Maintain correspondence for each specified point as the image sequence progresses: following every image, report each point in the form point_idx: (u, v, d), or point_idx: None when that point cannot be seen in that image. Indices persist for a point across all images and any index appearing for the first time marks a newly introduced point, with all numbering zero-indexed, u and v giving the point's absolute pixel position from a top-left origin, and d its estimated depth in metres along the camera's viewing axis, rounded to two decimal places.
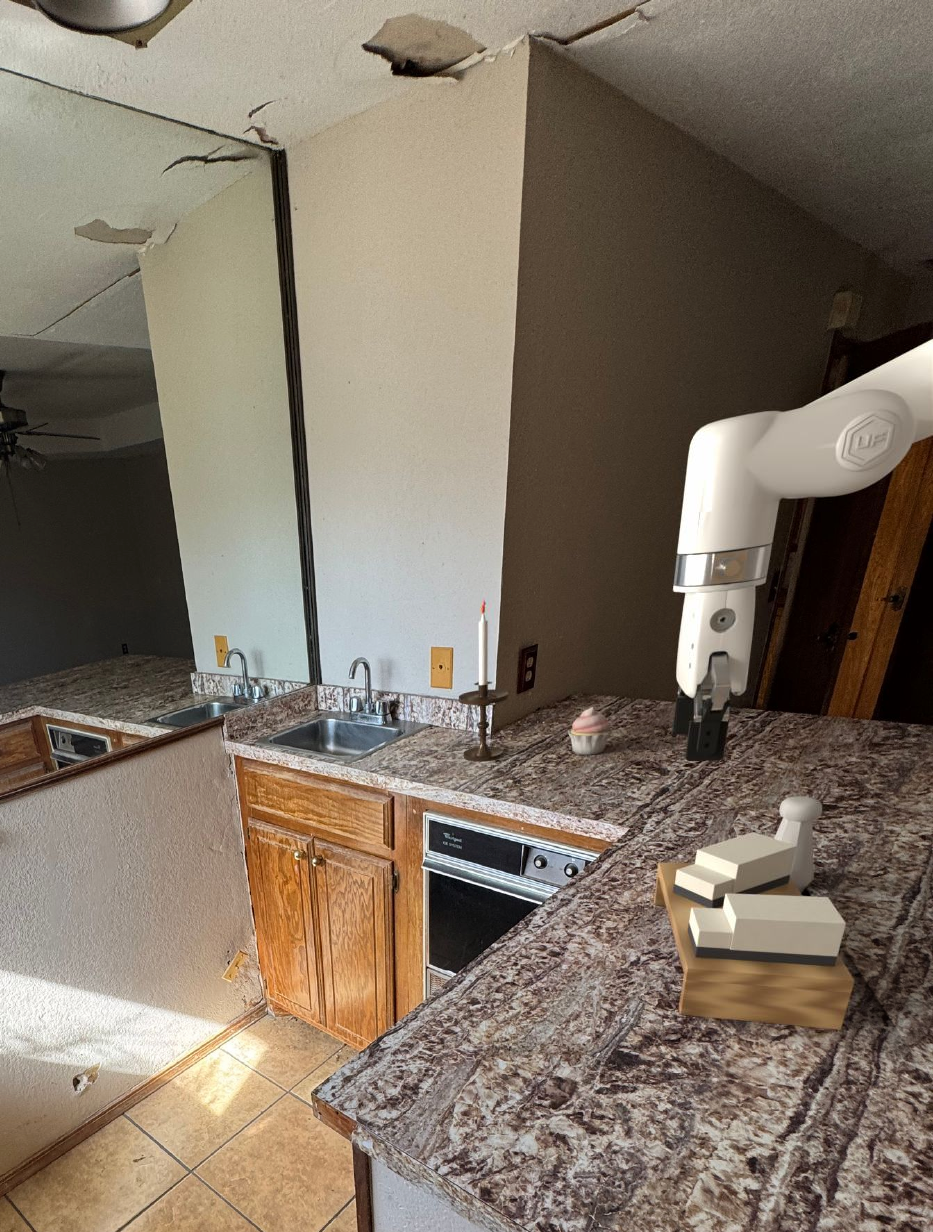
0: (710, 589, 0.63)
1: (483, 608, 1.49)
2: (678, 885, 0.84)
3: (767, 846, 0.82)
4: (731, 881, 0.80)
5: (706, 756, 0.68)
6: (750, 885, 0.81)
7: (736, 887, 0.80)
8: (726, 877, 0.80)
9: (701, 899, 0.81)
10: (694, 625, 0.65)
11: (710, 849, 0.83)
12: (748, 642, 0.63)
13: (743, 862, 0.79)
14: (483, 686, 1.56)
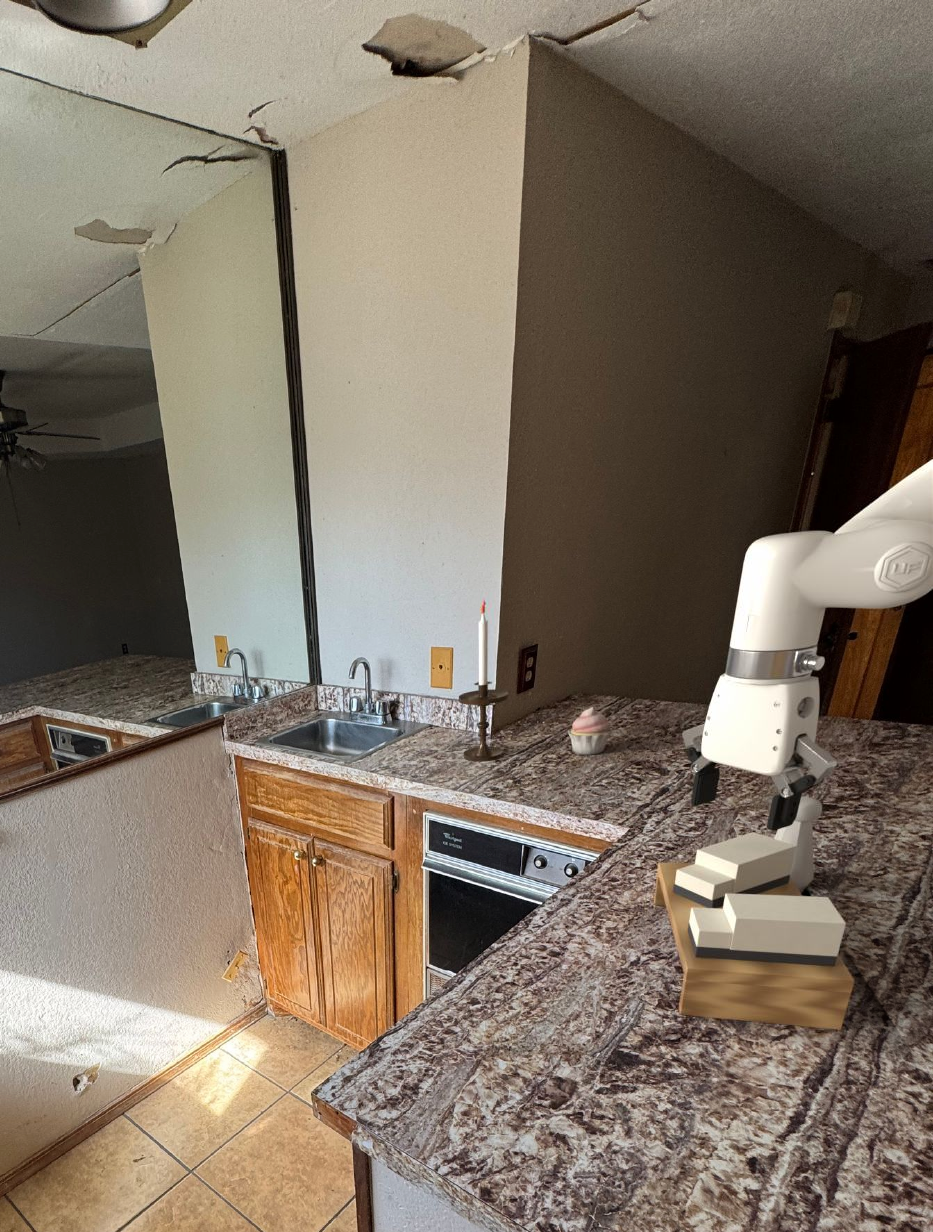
0: (790, 681, 0.70)
1: (483, 608, 1.49)
2: (678, 885, 0.84)
3: (767, 846, 0.82)
4: (731, 881, 0.80)
5: (784, 823, 0.75)
6: (750, 885, 0.81)
7: (736, 887, 0.80)
8: (726, 877, 0.80)
9: (701, 899, 0.81)
10: (779, 712, 0.71)
11: (710, 849, 0.83)
12: (817, 723, 0.72)
13: (743, 862, 0.79)
14: (483, 686, 1.56)
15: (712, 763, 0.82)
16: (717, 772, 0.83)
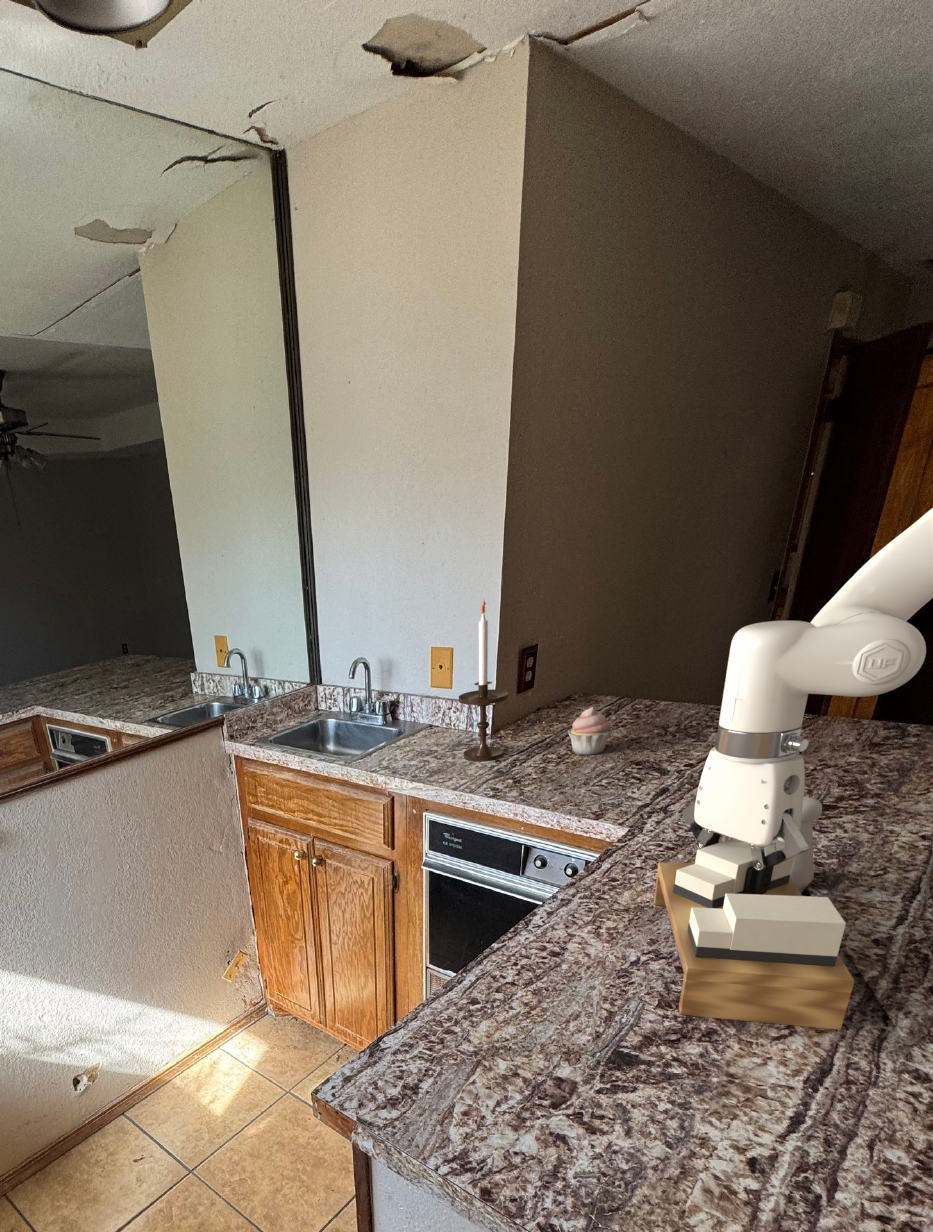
0: (776, 760, 0.73)
1: (483, 608, 1.49)
2: (678, 885, 0.84)
3: None
4: (731, 881, 0.80)
5: (758, 892, 0.81)
6: None
7: (736, 887, 0.80)
8: (726, 877, 0.80)
9: (701, 899, 0.81)
10: (767, 789, 0.74)
11: (710, 849, 0.83)
12: (803, 798, 0.75)
13: (743, 862, 0.79)
14: (483, 686, 1.56)
15: (715, 837, 0.85)
16: None
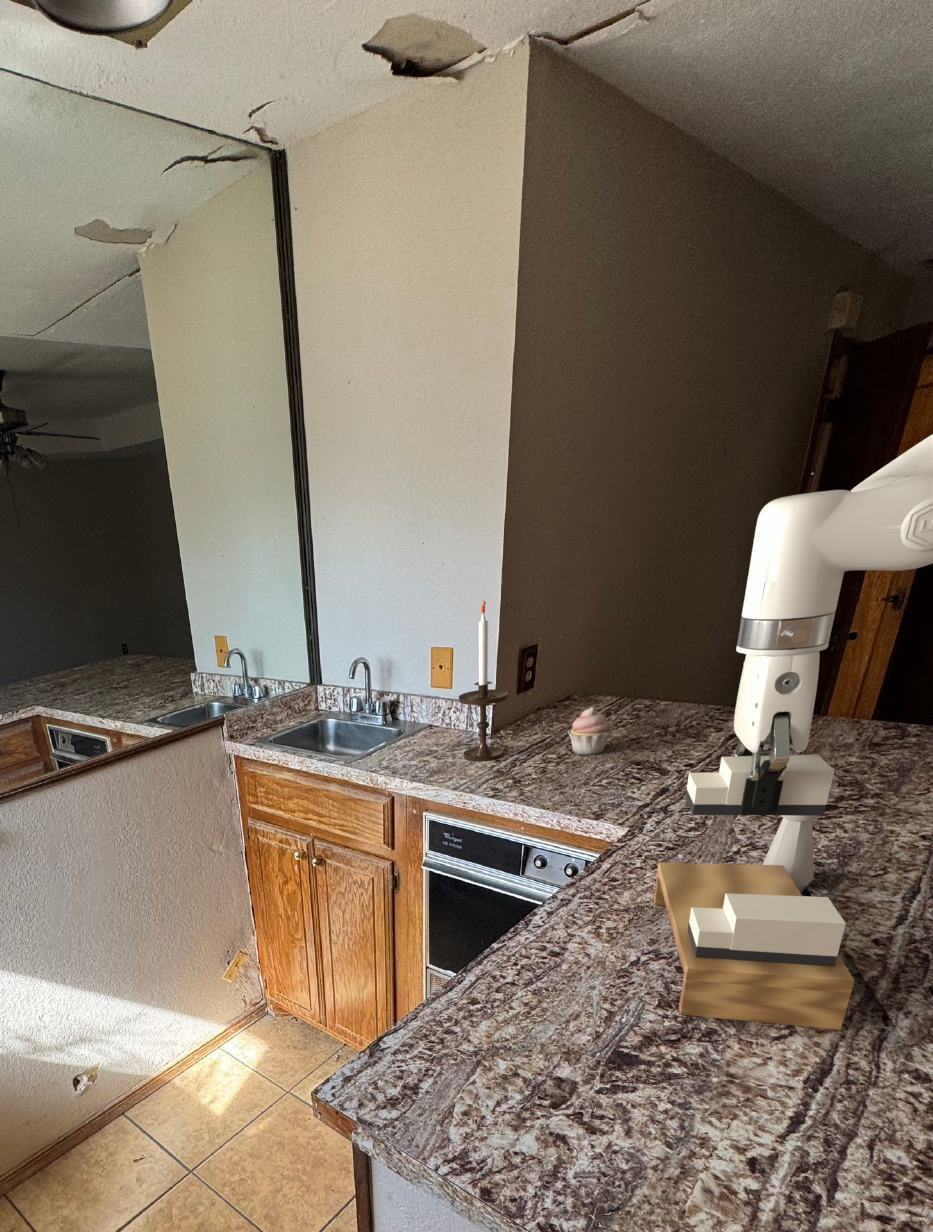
0: (775, 653, 0.67)
1: (483, 608, 1.49)
2: (687, 789, 0.80)
3: (800, 765, 0.72)
4: (723, 790, 0.75)
5: (761, 811, 0.73)
6: None
7: (731, 798, 0.75)
8: (722, 785, 0.75)
9: (691, 804, 0.78)
10: (758, 685, 0.68)
11: (735, 758, 0.77)
12: (811, 704, 0.66)
13: (741, 771, 0.73)
14: (483, 686, 1.56)
15: None
16: None
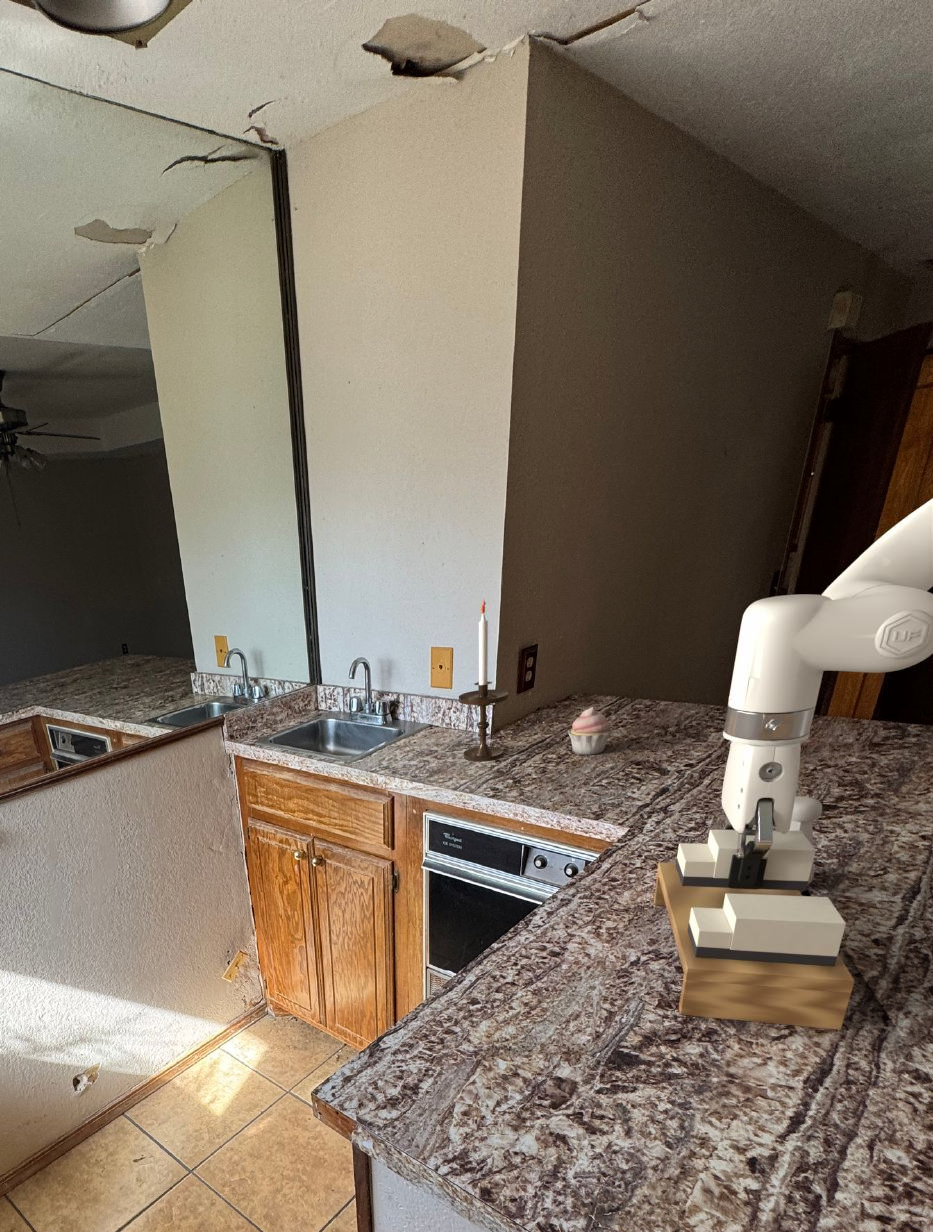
0: (759, 743, 0.71)
1: (483, 608, 1.49)
2: (677, 859, 0.84)
3: (783, 843, 0.76)
4: (711, 864, 0.78)
5: (746, 885, 0.77)
6: None
7: (718, 871, 0.78)
8: (710, 859, 0.79)
9: (680, 875, 0.81)
10: (743, 772, 0.72)
11: (722, 832, 0.81)
12: (793, 791, 0.70)
13: (728, 847, 0.77)
14: (483, 686, 1.56)
15: (745, 824, 0.81)
16: None
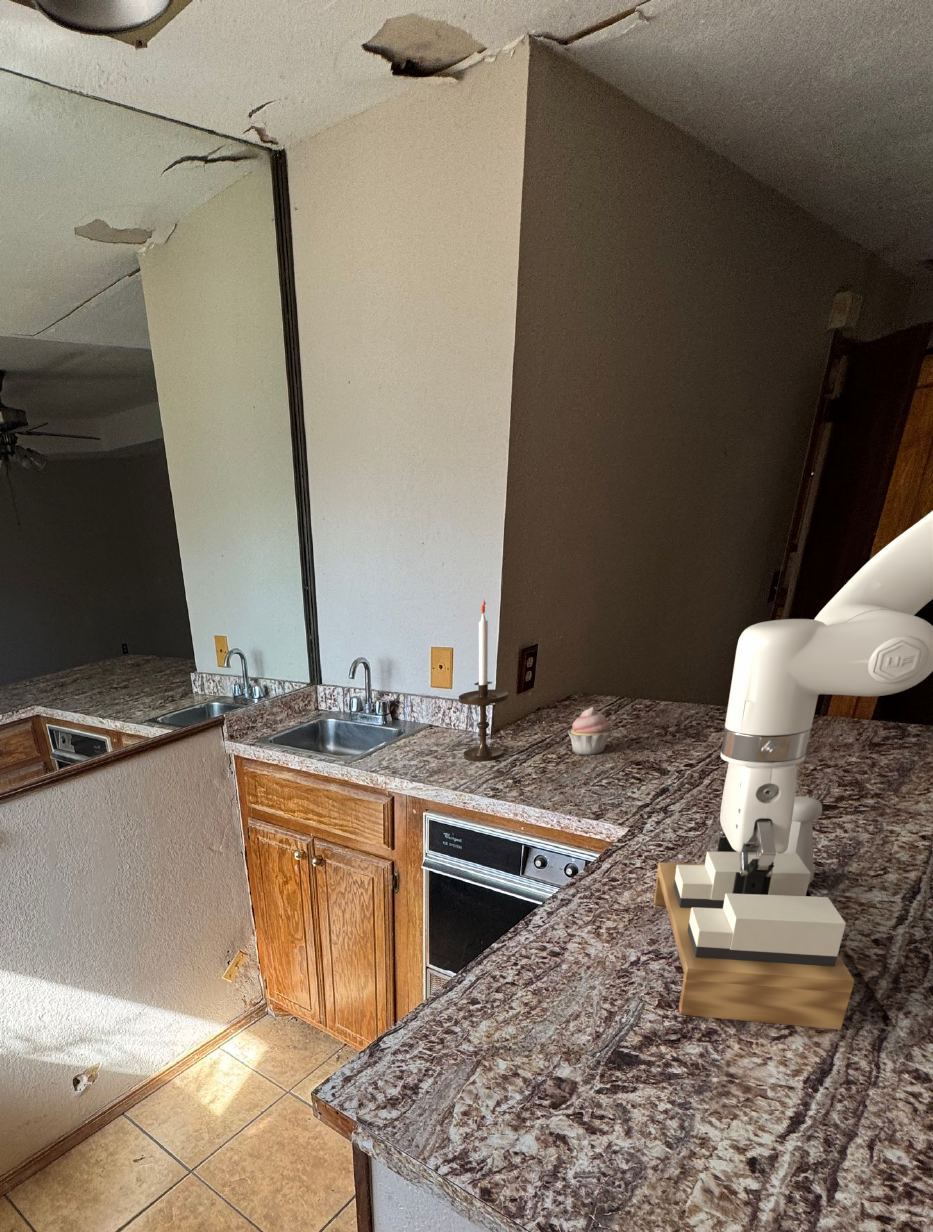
0: (756, 765, 0.72)
1: (483, 608, 1.49)
2: (675, 880, 0.85)
3: (779, 866, 0.77)
4: (708, 886, 0.80)
5: None
6: None
7: (715, 894, 0.80)
8: (707, 881, 0.80)
9: (678, 896, 0.83)
10: (741, 793, 0.73)
11: (719, 854, 0.82)
12: (790, 812, 0.71)
13: (725, 870, 0.78)
14: (483, 686, 1.56)
15: None
16: None
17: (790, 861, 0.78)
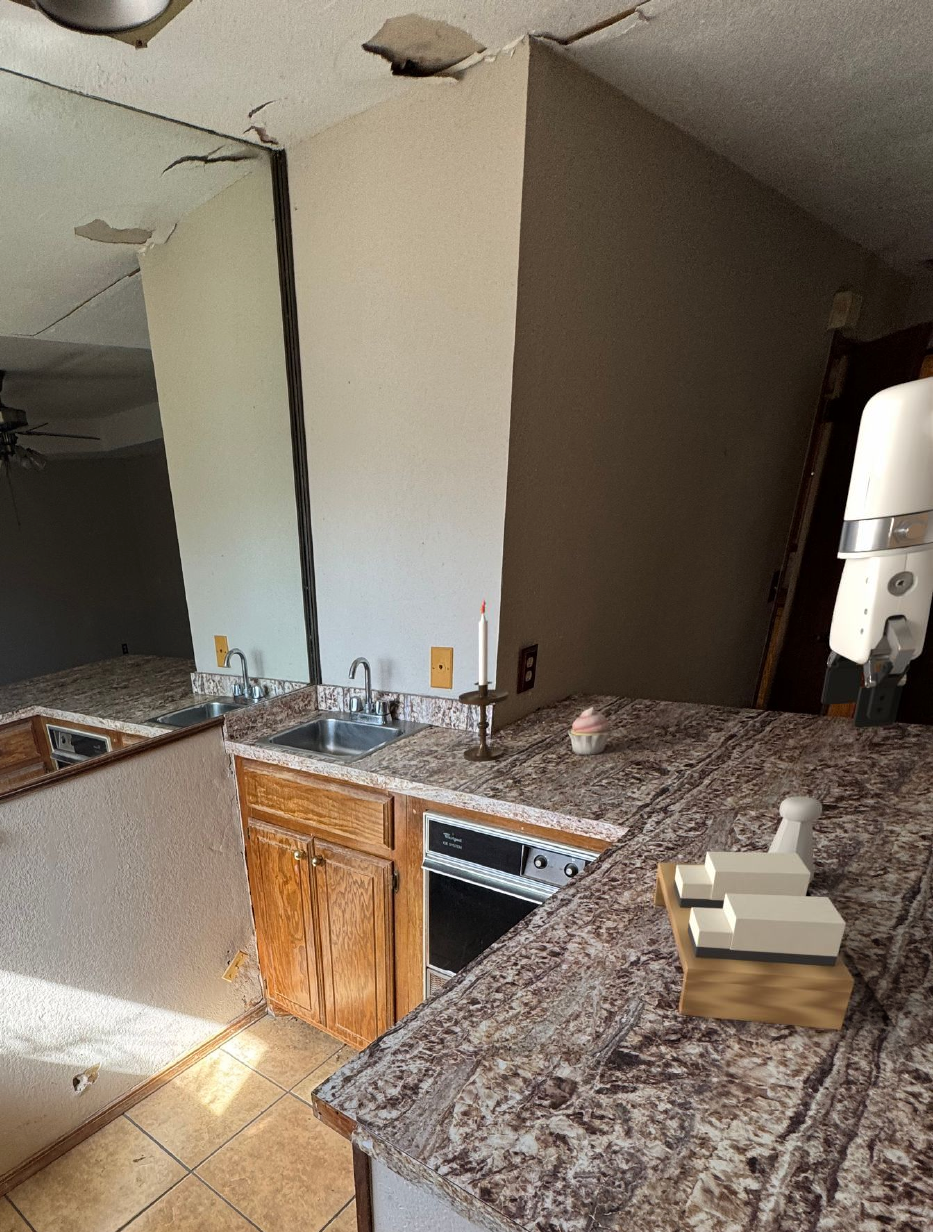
0: (887, 553, 0.64)
1: (483, 608, 1.49)
2: (675, 880, 0.85)
3: (779, 866, 0.77)
4: (708, 886, 0.80)
5: (876, 721, 0.68)
6: None
7: (715, 894, 0.80)
8: (707, 881, 0.80)
9: (678, 896, 0.83)
10: (868, 589, 0.65)
11: (719, 854, 0.82)
12: (928, 604, 0.63)
13: (725, 870, 0.78)
14: (483, 686, 1.56)
15: None
16: (858, 668, 0.74)
17: (790, 861, 0.78)
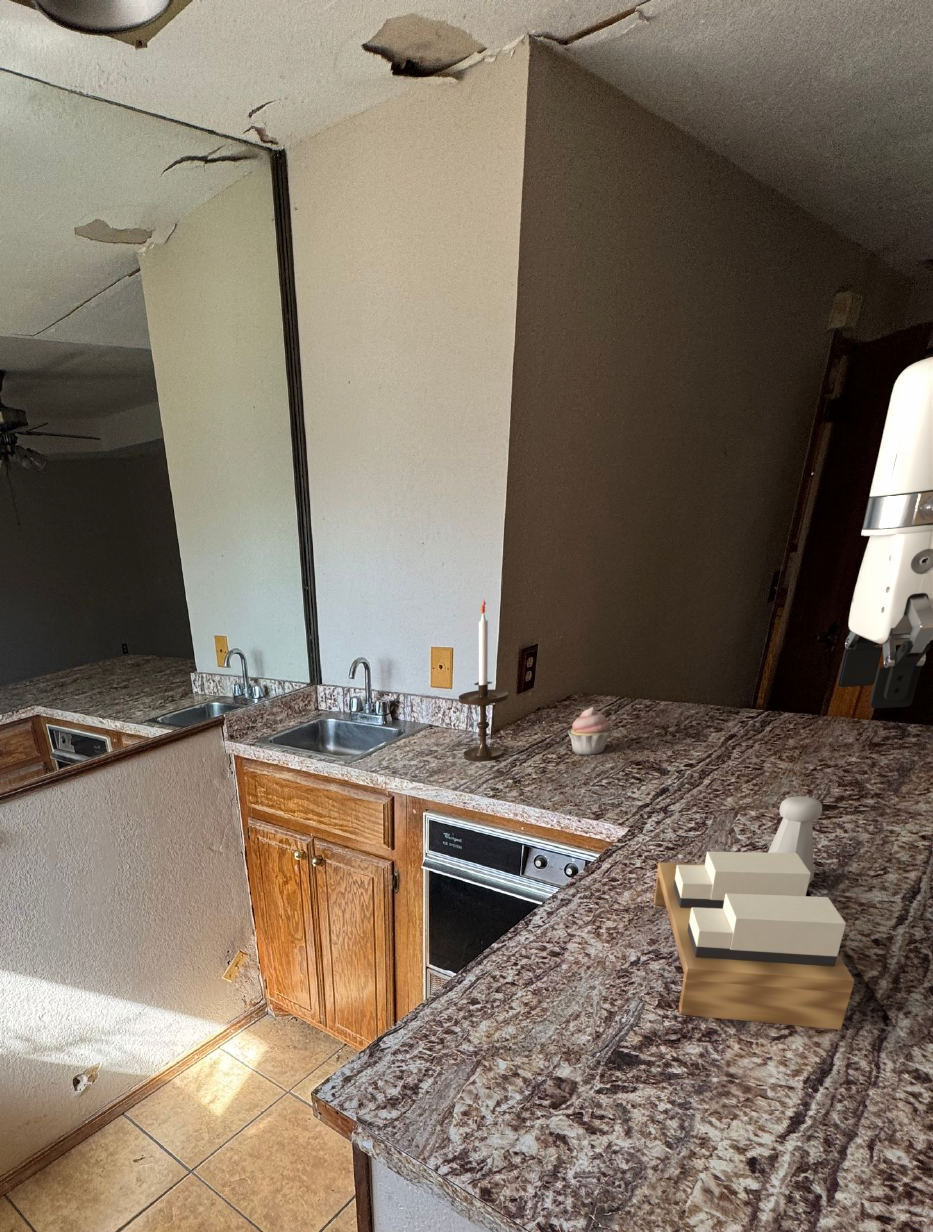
0: (912, 530, 0.63)
1: (483, 608, 1.49)
2: (675, 880, 0.85)
3: (779, 866, 0.77)
4: (708, 886, 0.80)
5: (893, 702, 0.68)
6: None
7: (715, 894, 0.80)
8: (707, 881, 0.80)
9: (678, 896, 0.83)
10: (891, 567, 0.64)
11: (719, 854, 0.82)
12: None
13: (725, 870, 0.78)
14: (483, 686, 1.56)
15: None
16: (876, 650, 0.74)
17: (790, 861, 0.78)
